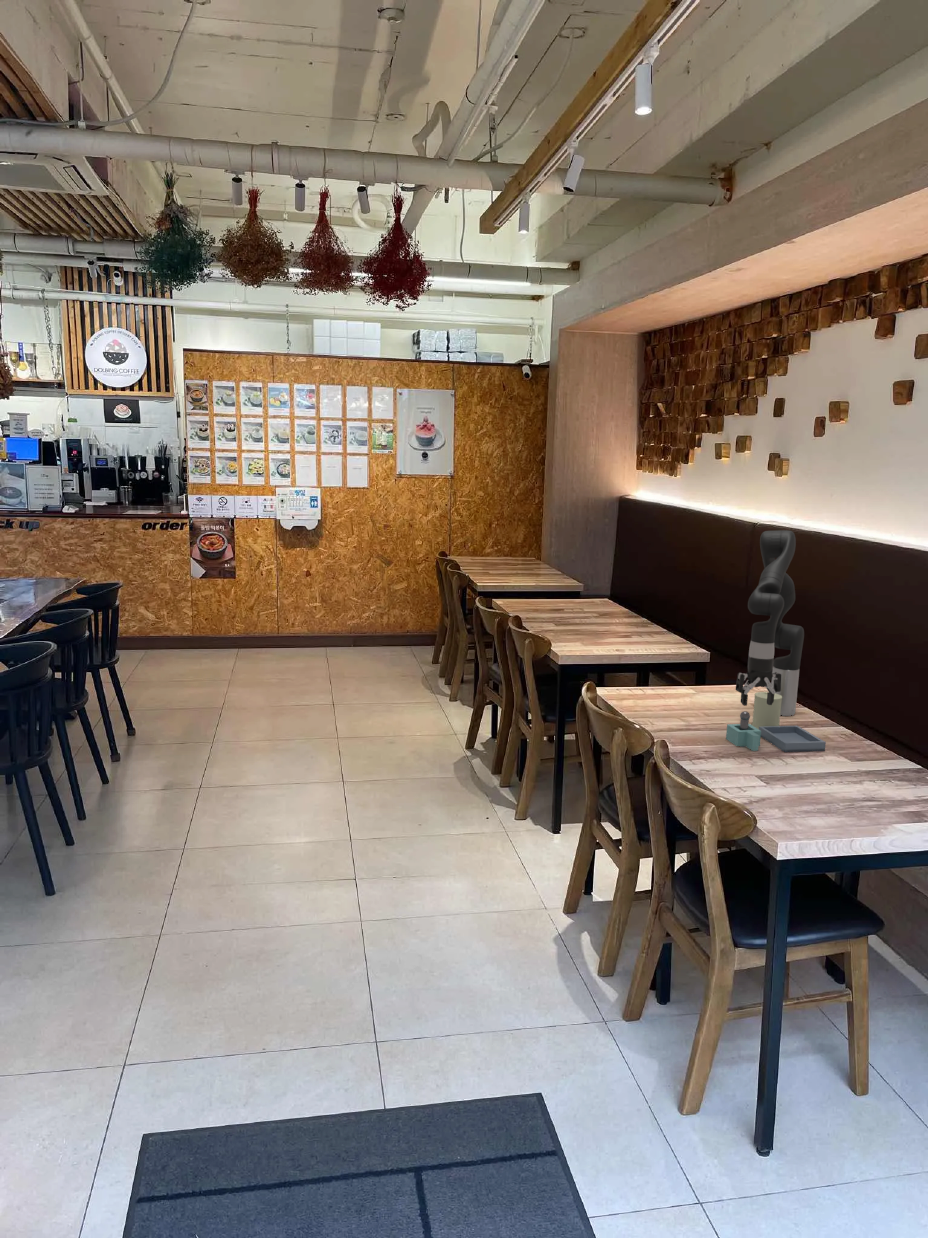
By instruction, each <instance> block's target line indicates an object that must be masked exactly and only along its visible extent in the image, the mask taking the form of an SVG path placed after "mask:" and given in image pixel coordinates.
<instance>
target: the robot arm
mask: <svg viewBox="0 0 928 1238" xmlns="http://www.w3.org/2000/svg"><path fill="white" fill-rule="evenodd" d="M796 539H797V538H796V535H795V532H794V531H792V530H786V529H785V530H783V529H782V530H765V531H762V533H761V535H760V539H759V546H760V553H761V557H762V564H763V570H762V572H761V574H760V577H759V581H758V585H757V586H756V588H755V589H754V590H753V591H752V593H751V595H750V596H749V598H748V601H747V609H748V610H749V612H750V613H751V614H753V615H757V616H766V617H767V616H769V617H770V618H768V620H766V621H765V620H764V621H757V622H754V623H753V624H752V626H751V636H750V637H751V638H750V643H749V648H748V649H749V650H748V659H747V672H746V673H742V672H738V673H737V677H736V683H735V691H736V692H738V693H740V703H741V704H742V706H746V707H747V705H748V701H749V700H748V698H749V697H748V693H749V692H750V691H751V690H753V689H754V688H759V687H761V688H766V690H767V691H768V693H767V704H768V705H772V703H773V702H774V694H779V695H781V696H782V701H781V711H780V716H781V715H782V716H783V717H791V715H792V716H795V715H796V708H797V698H798V688H799V679H800V678H799V677H800V667H801V659H802V651H803V646H804V639H805V630H804V627H802V626H801V625H797V624H796V625H795V624H789V623H783V622H782V620H783V618H784V616H785V615H786V614H787V612H789V610H790V609H791V608H792V607H793V605H794V604H795V601H796V590H795V589H796V588H795V584H794V580H793V579H792V578H791V576H789V574H788V573H786V572H787V571H788V568H789V566H790V564H791V562H792V560H793V558H794V555H795V551H796V546H797V544H796V543H797V540H796ZM775 648H776V649H781V650H789V651H790V653H789V654H788V655H785V656H778V657H774V656H775ZM746 679H747V680H746ZM745 681H746V682H745ZM770 681H771V682H770ZM794 714H795V715H794Z"/></svg>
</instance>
